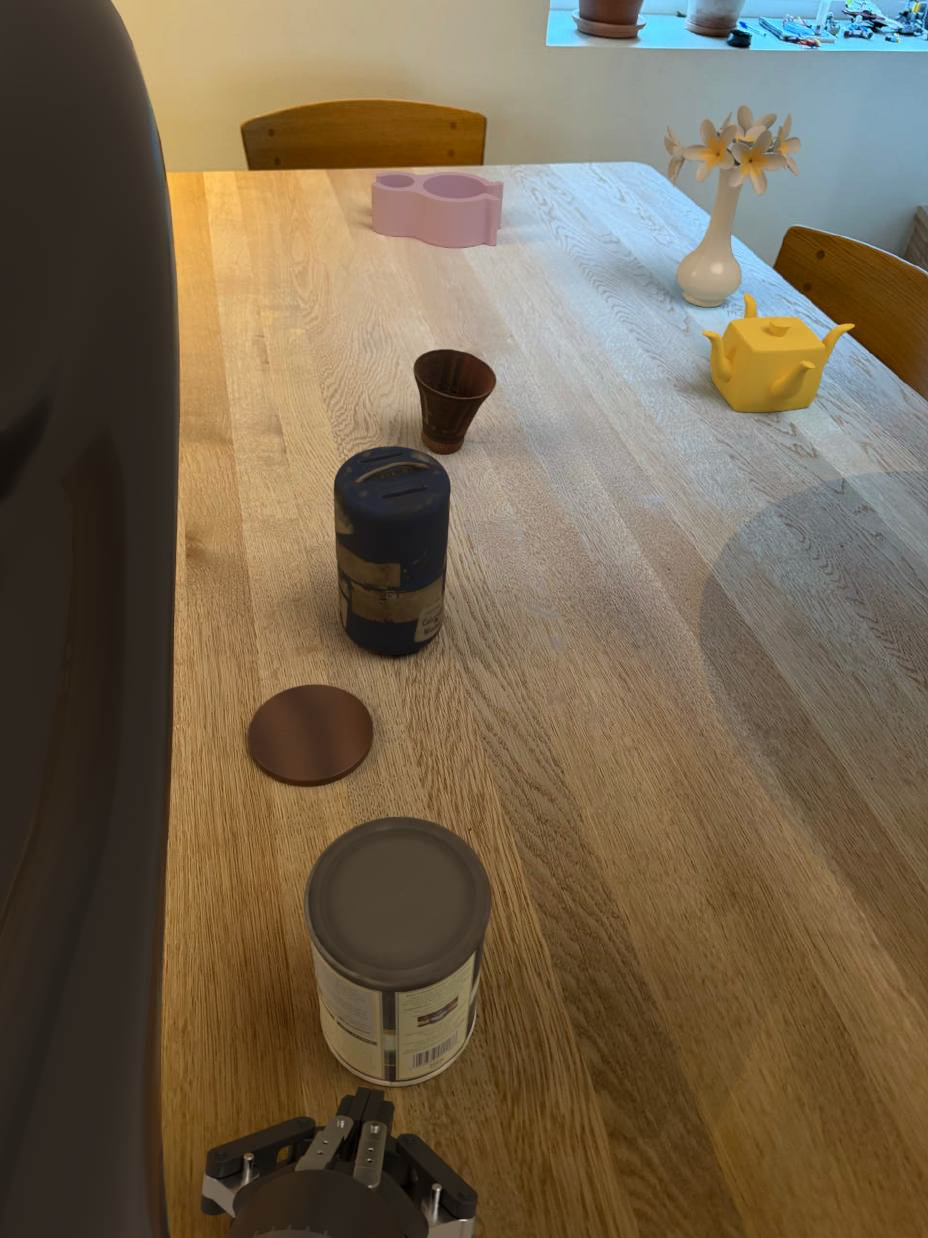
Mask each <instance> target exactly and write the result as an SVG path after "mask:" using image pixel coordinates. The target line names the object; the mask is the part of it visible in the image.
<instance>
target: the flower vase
mask: <svg viewBox="0 0 928 1238" xmlns="http://www.w3.org/2000/svg"><path fill="white" fill-rule="evenodd" d="M732 114H733V110H731V111H730V112H729V114H728V115H727V117H726V118H725V120H724V122H723V123H722V125H721V127H719V129H718V130H717V129H716V126H715V124H714V123H713V122H712V120H711V119H709V118H705V119H703V120H702V122H701V123H700V126H699V127H700V128H699V133H700V138H701V141H702V143H703V144H702V143H701V144H700V143H696V144H691V145H688V146H686V147H684V145H683V144H682V143H681V141H679V139H678V138H677V137H676V135H675V134H674V132H673V130H672V128H671V127H670V125H669V124H668V123H667V124H666V128H667V132H668V136H664V139H663V142H664V146H665V149H666V151H667V153H668V154H669V155H670V156H673V157H672V158H671V159H670V160H669V162H668V167H667V178H668V180H670V179H671V178H673V179H672V187H673V188H675V185H676V183H677V180H678V177H679V174H680V172H681V169H682V167H683V165H684V162H685V161H688V162H690V163H691V162H701V163H700V164H698V166H697V169H696V173H695V180H696V182H697V183H703V182H704V181H706V180H707V178H709V176H710V175H711V173H712V171H713V170H714V168H715V167H716V166H717V167H718V181H717V182H718V184H717V191H716V196H715V200H714V203H713V208H712V212H711V215H710V218H709V222H708V226H707V229H706V231H705V233H704V235H703V237H702V240H701V241H700V242H699V244H698V245H697V247H696V248H694V249H693V250H692V251H691V252H689V253H688V254H686V255H685V256H684V257H683V258H682V260H681V261H680V262H679V264H678V266H677V267H676V270H675V271H676V272H675V278H676V281H677V283H678V286H679V287H680V289H681V290H682V296H683V298H684V300H685V301H687V303H690V304H691V305H694V306H698V307H702V308H715V307H716V308H717V307H719V306H721V305H723V304H724V303H725V302H726V300H727V299H728V298H729V297H730V296H732V295H734V294H735V293H736V292H737V291H738V289H739V288H740V286H741V285H742V281H743V274H742V267H741V265H740V263H739V261H738V260H737V259H736V257H735V255H734V253H733V247H732V232H733V225H734V221H735V215H736V210H737V206H738V201H739V197H740V195H741V191H742V188H743V186H744V183H745V182H746V181H747V180H748V179H749V183H750V186H751V188H752V190H753V192H754V194H756V195H758V196H763V195H765V194H766V192H767V190H768V177H767V175H766V172H775V171H778V170H781V169H784V170H785V171H786V170H787V169H789V171H790V172H791V173H792V174H793V176H795V177H799V170H798V165H797V163H796V160H795V159H794V158H793V157H792V155H795V154H797V153H798V152H799V151H800V150H801V147H802V141H801V139H800V138H799V137H798V136H790V133H791V130H792V115H791V113H788V114H787V115H786V117H785V120H784V121H783V125H778V126H779V127H778V130H777V135H773V134H772V131H771V130H769V129H771V127H773V125H774V124H775V123H776V122H777V120H778V119H777V118H778V115H777V114H776V113H774V112H771V113H767V114H764V115H763V116H761V117H759V118H758V119H757V120H756V121H755V119H754V115H753V112H752V109H751V108H750V107H749V106H748V105H746V104H742V105H740V106H739V107H738V108H737V111H736V119H737V123H736V122H732V121H731V118H732ZM754 121H755V122H754ZM789 136H790V137H789ZM774 140H775V141H774ZM732 143H733V144H732ZM731 144H732V145H731ZM730 145H731V146H730ZM729 146H730V149H729ZM765 171H766V172H765Z"/></svg>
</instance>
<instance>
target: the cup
mask: <svg viewBox="0 0 928 1238" xmlns="http://www.w3.org/2000/svg"><path fill="white" fill-rule="evenodd" d="M412 369H413V376H414V380H415V383H416V386H417V389H418V395H419V401H420V402H419V403H420V410H421V411H420V412H421V434H420V438H421V442H422V443H423V445H424V446H425V447H426V448H427V449H428V450H430V451H432V452H435V453H439V454H443V455H445V454H454V453H456V452H458V451H460V450H461V449H462V448H463V445H464V442H465V441H464V440H465V437H466V435H467V433H468V430H469V428H470V427H471V424H472V423H473V420H474V418H475V417H476V415H477V413H478V411H479V409H480V408H481V406H482V405H483V403H484V402H485V401H486V400H487V399H488V398H489V396H490V395H492V393H493V391H494V389H495V388H496V385H497V377H496V376H497V375H496V373H495V371H494V370H493V369H492V367H491V366H490V365H489V364H488V363H487V362H485V361H484V360H482V359H480V358H479V357H477V356H476V355H474V354H472V353H470V352H466V351H462V350H457V349H452V348H439V349H433V350H429V351H426V352H423V353H422V354H421V355H419V356H418V357H416V359H415V361H414V363H413V367H412Z"/></svg>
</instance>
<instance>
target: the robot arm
mask: <svg viewBox="0 0 928 1238" xmlns="http://www.w3.org/2000/svg"><path fill="white" fill-rule="evenodd" d="M141 66H142V65H141V63H140V61H139V58H138V54H137V52H136V49H135V45H134V43H133V40H132V38H131V36H130V33H129V31H128V29H127V27H126V24H125V22H124V19H123V18H122V15H121V14H120V12H119V11H118V9H117V8H116V6H115V5H114V3H113V1H112V0H0V1238H172V1237H171V1229H170V1227H171V1226H170V1219H169V1210H168V1200H167V1190H166V1176H165V1160H164V1147H163V1145H164V1144H163V1122H162V1120H163V1118H162V1115H163V1113H162V1112H163V1111H162V1110H163V1109H162V1108H163V1107H162V1100H163V1099H162V1097H163V1096H162V1024H163V1023H162V1021H163V1020H162V1019H163V1018H162V1017H163V1016H162V1015H163V980H164V979H163V978H164V977H163V976H164V974H163V973H164V952H165V951H164V950H165V931H166V930H165V927H166V908H167V907H166V906H167V905H166V904H167V882H168V881H167V880H168V879H167V878H168V877H167V876H168V875H167V874H168V870H167V869H168V845H169V844H168V843H169V831H170V817H171V816H170V815H171V792H172V786H171V785H172V767H173V764H172V763H173V739H174V737H173V736H174V703H175V701H174V697H175V695H174V693H175V692H174V691H175V690H174V688H175V613H176V612H175V611H176V582H177V581H176V580H177V579H176V578H177V549H178V548H177V547H178V543H177V542H178V515H179V514H178V513H179V512H178V510H179V475H180V473H179V472H180V432H181V430H180V429H181V428H180V427H181V425H180V424H181V345H180V343H181V341H180V317H179V314H180V313H179V292H178V291H179V290H178V270H177V259H176V257H177V256H176V247H175V235H174V224H173V212H172V202H171V196H170V188H169V182H168V177H167V169H166V163H165V158H164V152H163V145H162V140H161V136H160V131H159V128H158V123H157V119H156V115H155V111H154V108H153V104H152V101H151V97H150V93H149V90H148V87H147V83H146V80H145V76H144V73H143V69H142V67H141ZM385 1095H386V1090H382V1089H377V1088H371V1087H364V1086H358V1087H357V1089H356V1091H355V1095H354V1094H346V1095H345V1096H343V1097H342V1098H341V1100H340V1102H339V1105H338V1108H337V1110H336V1113H335V1115H334V1116H332V1117H330V1119H329V1120H328V1122H327V1124H326V1125H316V1124H317V1121H316V1120H315V1119H314V1118H313V1117H310V1116H306V1115H299V1116H294V1117H293V1118H290V1119H287V1120H284V1121H282V1122H280V1123H277V1124H274V1125H271V1126H268V1127H265V1128H263V1129H261V1130H258V1131H255V1132H253V1133H250V1134H247V1135H244V1136H242V1137H239V1138H236V1139H233V1140H231V1141H229V1142H225V1143H222V1144H219V1145H217V1146H215V1147H212V1148H210V1149H209V1150H208V1151H207V1152H206V1159H205V1167H204V1171H203V1178H202V1185H201V1199H200V1205H199V1210H200V1212H201V1213H202V1214H204V1215H207V1216H212V1217H213V1216H214V1217H215V1216H220V1215H222V1214H225V1213H228V1215H230V1216H231V1217H232V1220H231V1221H230V1222H229V1228H228V1231H227V1234H226V1236H225V1238H474V1231H475V1225H476V1224H475V1223H476V1215H477V1207H478V1199H479V1194H478V1193H477V1192H476V1190H475V1189H474V1188H473V1187H472V1186H471V1185H470V1184H468V1183H467V1182H466V1181H465V1180H464V1179H463V1177H462V1176H461V1175H459V1174H458V1173H457V1172H456V1171H455V1170H454V1169H453V1168H452V1167H451V1166H450V1164H448V1163H447V1162H446V1161H445V1160H444V1159H443V1158H442V1157H441V1156H440V1155H439V1154H438V1153H436V1151H434V1150H433V1149H432V1148H431V1147H430V1145H428V1144H427V1143H426V1141H424V1140H423V1139H422V1138H421V1137H420V1136H419V1135H418V1134H414V1133H410V1132H409V1133H408V1132H406V1133H401V1134H399V1135H398V1136H397V1137H394V1136H393V1135H392V1131H393V1123H394V1116H395V1109H396V1107H395V1104H394V1102H393V1101H392V1100H386V1099H385ZM285 1148H287V1155H286V1158H284V1159H282V1160H279V1161H278V1157H279V1153H281V1150H283V1149H285Z"/></svg>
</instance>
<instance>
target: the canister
mask: <svg viewBox="0 0 928 1238" xmlns="http://www.w3.org/2000/svg"><path fill="white" fill-rule="evenodd" d="M451 493H452V485H451V479H450V477H449V473H448V472H447V470H446V468H445V467H444V465H443V464H442V463H441V462H439V461H438V460H437V459H436V458H435V457H433V456H431V454H428V453H426V452H424V451H422V450H418V449H415V448H411V447H407V446H400V445H398V446H397V445H389V446H376V447H372V448H368V449H365V450H361V451H360V452H357V453H356V454H353V455H352V456H350V457H349V458H348V459H346V460H345V461H344V462H343V463H342V464H341V466H340V467H339V469H338V470H337V472H336V474H335V477H334V481H333V510H334V511H333V514H334V515H333V517H334V534H335V556H336V570H337V588H338V589H337V590H338V591H337V592H338V609H339V610H338V611H339V620H340V624H341V627H342V630H343V631H344V633H345V634H346V636H347V637H348V638H349V640H351V641H352V642H353V643H354V644H356V645H357V646H359V647H360V648H362V649H364V650H366V651H369V652H372V653H375V654H379V655H387V656H388V655H389V656H396V655H397V656H399V655H406V654H410V653H413V652H416V651H418V650H421V649H423V648H425V647H426V646H427V645H428V644H430V643H432V641H433V640H434V639H435V638H436V637H437V636H438V635H439V632H440V631H441V628H442V626H443V622H444V615H445V614H444V613H445V612H444V611H445V610H444V603H445V594H446V579H447V567H448V546H449V527H450V509H451Z"/></svg>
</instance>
